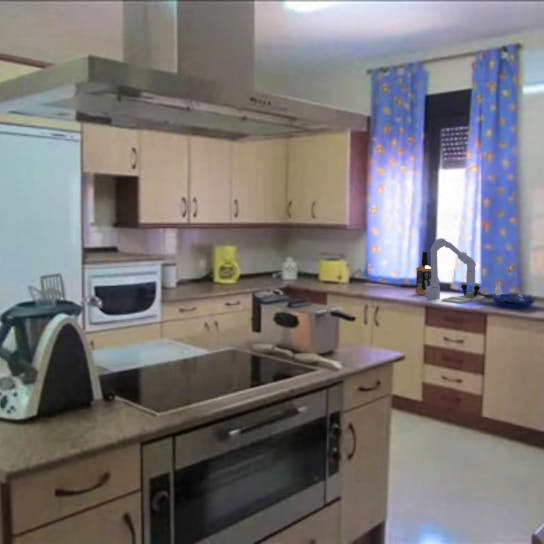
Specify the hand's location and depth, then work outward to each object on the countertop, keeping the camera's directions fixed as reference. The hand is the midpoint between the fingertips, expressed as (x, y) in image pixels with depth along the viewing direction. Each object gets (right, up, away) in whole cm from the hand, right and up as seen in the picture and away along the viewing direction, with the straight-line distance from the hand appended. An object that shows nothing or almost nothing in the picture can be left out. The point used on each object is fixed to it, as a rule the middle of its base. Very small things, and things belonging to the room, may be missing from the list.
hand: (470, 296), depth 421 cm
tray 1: (-12, -4, -8) cm, 15 cm away
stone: (0, -2, 0) cm, 2 cm away
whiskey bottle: (-24, 0, +31) cm, 39 cm away
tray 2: (0, -3, 0) cm, 3 cm away
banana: (+23, -4, -11) cm, 25 cm away
